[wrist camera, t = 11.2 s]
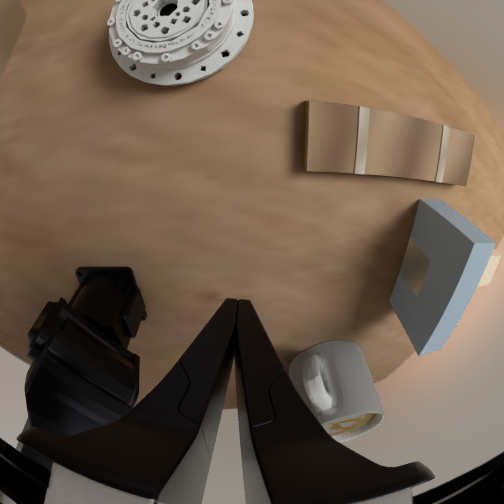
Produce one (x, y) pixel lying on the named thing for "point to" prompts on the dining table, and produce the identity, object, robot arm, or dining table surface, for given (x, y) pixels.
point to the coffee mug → (337, 388)
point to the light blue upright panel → (440, 274)
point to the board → (383, 144)
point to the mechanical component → (177, 37)
